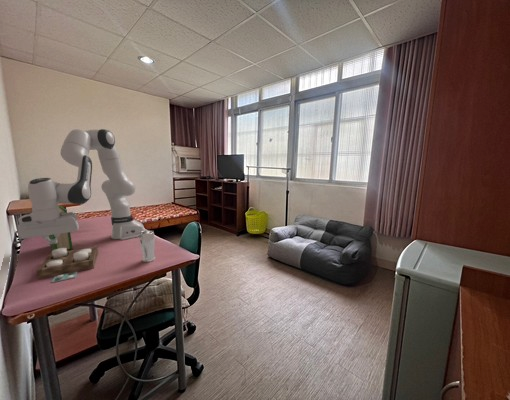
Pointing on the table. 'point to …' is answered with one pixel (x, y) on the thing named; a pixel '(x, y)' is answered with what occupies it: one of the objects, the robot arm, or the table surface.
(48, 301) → the table surface
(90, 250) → the button
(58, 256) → the button
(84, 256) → the button
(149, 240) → the beer glass
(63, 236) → the hardback book
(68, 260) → the wooden compartment tray
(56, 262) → the button
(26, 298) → the table surface
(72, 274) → the card
